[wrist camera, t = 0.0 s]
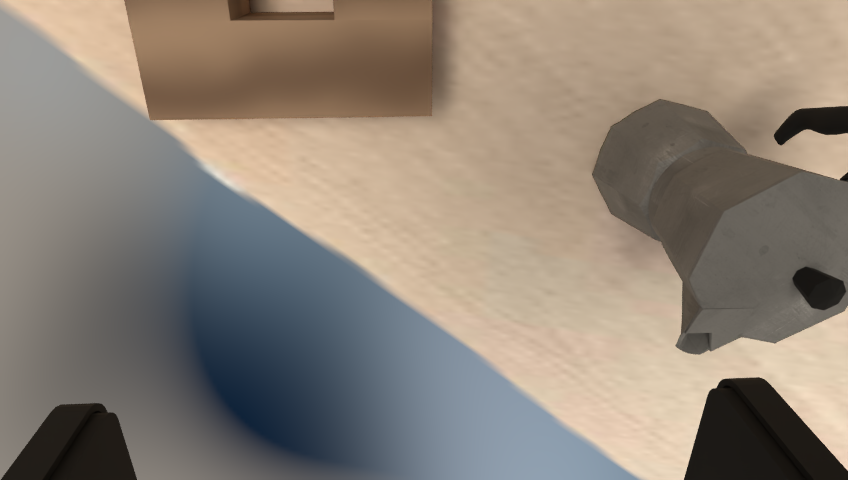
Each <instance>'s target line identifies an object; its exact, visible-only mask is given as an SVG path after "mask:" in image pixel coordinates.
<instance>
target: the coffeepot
mask: <svg viewBox="0 0 848 480" xmlns="http://www.w3.org/2000/svg"><path fill="white" fill-rule="evenodd" d="M806 129H810V130H813V131H815V132H818V133H821V134H825V135H837V134H843V133H848V106H839V107H824V108H807V109H799V110H797V111H795V112H794V113H793V114H791V115H790V116H789V117H788V118H787V119H786V120H785V122H784V123H783V124H782V125H781V126H780V128H779V129H778V130H777V131H776V132H775V134H774V138H775V140H776V141H777V143H778V144H779V145H783V144H784V143H785V142H786V141H787V140H789V139H790V138H792V137H793V136H795V135H796V134H798V133H799V132H801V131H803V130H806ZM592 175H593V177H594V179H595V181H596V183H597V186H598V188H599V190H600V193H601V194H602V196H603V198H604V200H605V202H606V204H607V206H608V208H609V210H610V212H611V214H613V215H614V216H616V217H618V218H619V219H621V220H623V221H624V222H626V223H628V224H629V225H631V226H633V227H635V228H636V229H638V230H640V231H641V232H643V233H645V234H646V235H648V236H650V237H651V238H653V239H655V240H658V241H661V242H662V244H663V247H664V249H665V251H666V253H667V255H668V257H669V259H670V260H671V262H672V264H673V266H674V267H675V269H676V271H677V273H678V274H679V276H680V278H681V279H682V281H683V291H682V326H681V335H680V337H679V339H678V342H677V344H676V345H675V346H676V347H677V348H678V349H680V350H682V351H684V352H686V353H690V354H702V353H704V352H706V351H707V350H710V351H713V350H715V349H717V348H719V347H721V346H723V345H725V344H727V343H730V342H732V341H734V340H736V339H738V338H740V337H745V338H750V339H755V340H760V341H766V342H771V343H776V342H778V341H781V340H783V339H785V338H787V337H789V336H791V335H794V334H796V333H798V332H800V331H802V330H804V329H806V328H809V327H811V326H813V325H815V324H817V323H819V322H822V321H824V320H826V319H828V318H830V317H832V316H835V315H837V314H839V313H841V312H843V311H845V309H846V308H847V306H848V173H846V174H845V175H844V176H843V177H842V178H841V179H840V180H837V179H834V178H830V177H827V176H823V175H820V174H816V173H813V172H809V171H806V170H802V169H799V168H795V167H792V166H788V165H785V164H781V163H778V162H774V161H771V160H767V159H763V158H760V157H756V156H753V155H749V154H747V152H746V150H745V149H744V148H743V147H742V146H741V145H740V144H739V143H738V142H737V141H736V140H735V139H734V138H733V137H732V136H731V135H730V134H729V133H728V132H727V131H726V130H725V129H724V128H723V127H722V126H721V125H720V124H719V123H718V122H717V121H716V120H715V119H714V118H713V117H712V116H711V115H710V114H709V113H708V112H707V111H704V110H700V109H696V108H693V107H689V106H686V105H682V104H677V103H673V102H669V101H665V100H661V99H659V100H657V101H656V102H654V103H652V104H650V105H648V106H646V107H644V108H641V109H639V110H637V111H635V112H633V113H632V114H630V115H629V116H627V117H626V118H624V119H623V120H622V121H620V122H619V123H617V124H615V125H613V126H612V127H611V129H610V131H609V133H608V135H607V137H606V139H605V141H604V143H603V145H602V147H601V149H600V153H599V156H598V159H597V164H596V167H595V169H594V172H593V174H592Z"/></svg>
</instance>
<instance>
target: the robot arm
mask: <svg viewBox="0 0 848 480" xmlns="http://www.w3.org/2000/svg"><path fill="white" fill-rule="evenodd" d="M1 480H137V478H136V475H135V472H134V468H133V465H132V462H131V459H130V456H129V452H128V449H127V446H126V443H125V440H124V436H123V433H122V430H121V427H120V423H119V420H118V418H117V416H116V414H114V413H108V412H107V410H106V408H105V407H104V406H103V405H102V404H99V403H93V404H67V405H59V406H57V407H55V409H54V410H53V411H52V412H51V413H50V414H49V415H48V417H47V418H46V419H45V421H44V422H43V423H42V425H41V426H40V428H39V429H38V430H37V432H36V433H35V434H34V436H33V437H32V438H31V440H30V441H29V442H28V444H27V445H26V446H25V448H24V449H23V450H22V452H21V453H20V455H19V456H18V457H17V459H16V460H15V461H14V463H13V464H12V465H11V467H10V468H9V469H8V471H7V472H6V473H5V475H4V476H3V478H2V479H1ZM684 480H848V471H847V470H846V469H845V467H844V466H843V465H842V464H841V463H840V462H839V461H838V460H837V459H836V457H835V456H834V455H833V454H832V453H831V452H830V451H829V450H828V448H827V447H826V446H825V445H824V444H823V443H822V442H821V441H820V440H819V438H818V437H817V436H816V435H815V434H814V433H813V432H812V431H811V430H810V428H809V427H808V426H807V425H806V424H805V423H804V422H803V421H802V419H801V418H800V417H799V416H798V415H797V414H796V413H795V412H794V411H793V409H792V408H791V407H790V406H789V405H788V404H787V403H786V402H785V401H784V399H783V398H782V397H781V396H780V395H779V394H778V393H777V392H776V390H775V389H774V388H773V387H772V386H771V385H770V384H769V383H768V382H767V381H766V380H764V379H762V378H759V377H758V378H733V379H723V380H721V381H720V382H719V384H718V386H717V388H715V389H712V390H710V392H709V394H708V396H707V400H706V404H705V407H704V411H703V414H702V418H701V421H700V425H699V428H698V432H697V435H696V439H695V443H694V446H693V450H692V453H691V457H690V460H689V464H688V467H687V471H686V474H685V478H684Z"/></svg>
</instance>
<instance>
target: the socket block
mask: <svg viewBox="0 0 848 480" xmlns="http://www.w3.org/2000/svg"><path fill="white" fill-rule="evenodd" d="M124 1H125V5H126V10H127V15H128V19H129V24H130V29H131V33H132V38H133V43H134V47H135V52H136V57H137V61H138V66H139V71H140V76H141V80H142V85H143V90H144V94H145V99H146V104H147V108H148V113H149V118H150V120H185V119H255V118H324V117H394V116H432V0H333V4H334V12H261V13H250V5H249V0H124Z"/></svg>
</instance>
